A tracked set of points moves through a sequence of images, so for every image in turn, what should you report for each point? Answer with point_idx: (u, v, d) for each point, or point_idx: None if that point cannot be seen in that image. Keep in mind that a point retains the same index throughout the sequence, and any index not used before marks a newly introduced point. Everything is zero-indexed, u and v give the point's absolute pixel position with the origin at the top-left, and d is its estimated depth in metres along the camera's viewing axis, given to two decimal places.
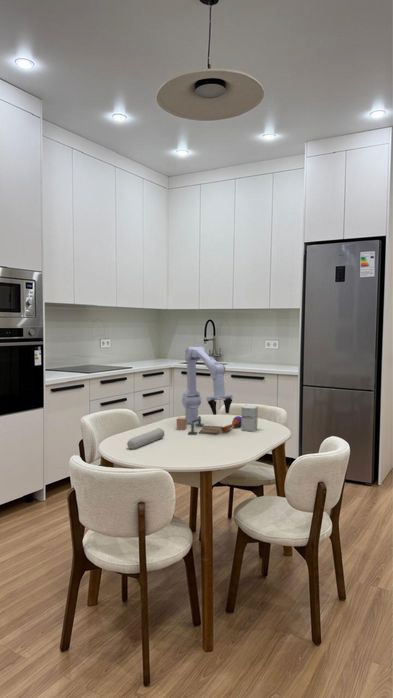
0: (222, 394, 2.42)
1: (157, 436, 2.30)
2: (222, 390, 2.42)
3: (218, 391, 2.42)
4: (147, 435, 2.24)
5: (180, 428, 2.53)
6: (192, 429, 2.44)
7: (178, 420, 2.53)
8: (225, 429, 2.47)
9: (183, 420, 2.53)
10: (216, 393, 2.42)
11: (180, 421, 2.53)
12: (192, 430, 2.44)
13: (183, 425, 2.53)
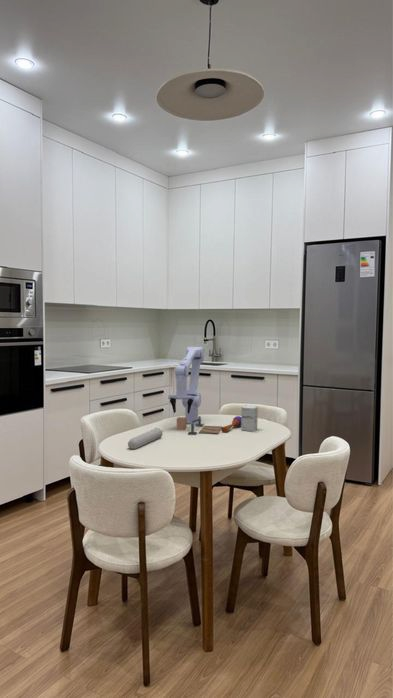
0: (180, 395, 2.52)
1: (156, 436, 2.30)
2: (181, 391, 2.52)
3: (177, 391, 2.52)
4: (146, 435, 2.24)
5: (180, 428, 2.53)
6: (192, 429, 2.44)
7: (178, 420, 2.53)
8: (225, 429, 2.47)
9: (183, 420, 2.53)
10: (176, 393, 2.54)
11: (180, 421, 2.53)
12: (192, 430, 2.44)
13: (183, 425, 2.53)
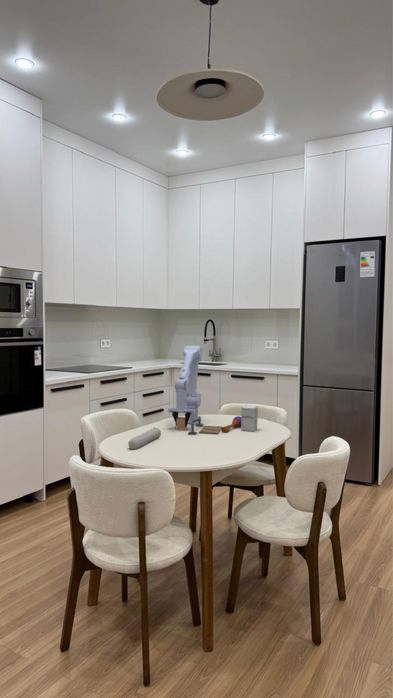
0: (180, 408, 2.52)
1: (155, 436, 2.31)
2: (181, 405, 2.52)
3: (177, 405, 2.53)
4: (146, 435, 2.25)
5: (180, 428, 2.53)
6: (192, 429, 2.44)
7: (178, 420, 2.53)
8: (225, 429, 2.47)
9: (183, 420, 2.53)
10: (176, 406, 2.54)
11: (180, 421, 2.53)
12: (192, 430, 2.44)
13: (183, 425, 2.53)
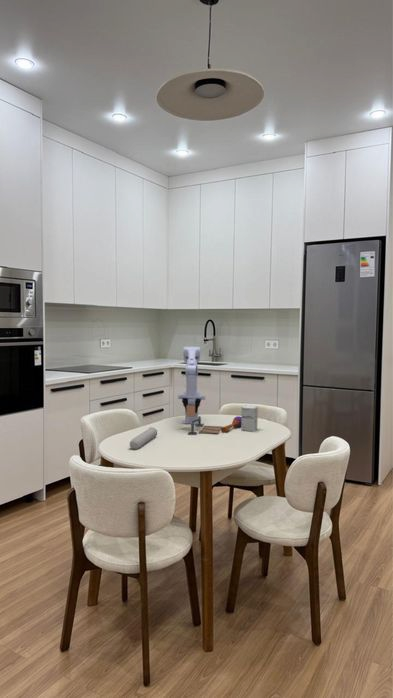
0: (190, 395, 2.51)
1: (152, 435, 2.31)
2: (191, 391, 2.50)
3: (187, 391, 2.51)
4: (145, 435, 2.25)
5: (190, 415, 2.52)
6: (192, 429, 2.44)
7: (188, 407, 2.52)
8: (225, 429, 2.47)
9: (193, 407, 2.51)
10: (186, 393, 2.53)
11: (190, 408, 2.52)
12: (192, 430, 2.44)
13: (193, 412, 2.51)
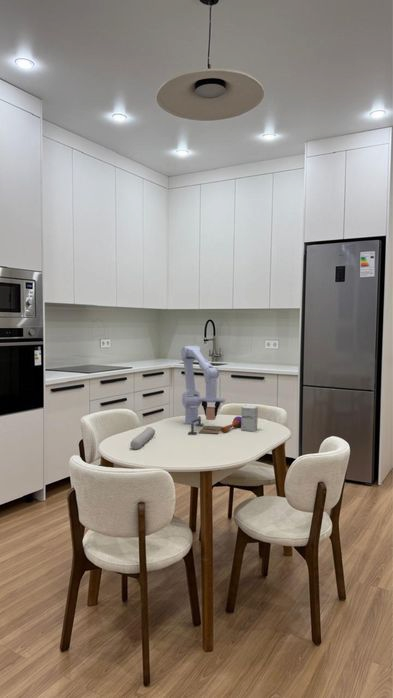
0: (210, 398, 2.49)
1: (151, 435, 2.32)
2: (210, 394, 2.49)
3: (207, 394, 2.49)
4: (144, 434, 2.25)
5: (210, 418, 2.50)
6: (192, 429, 2.44)
7: (208, 410, 2.50)
8: (224, 429, 2.47)
9: (213, 410, 2.49)
10: (206, 396, 2.51)
11: (210, 411, 2.50)
12: (192, 430, 2.44)
13: (213, 415, 2.49)
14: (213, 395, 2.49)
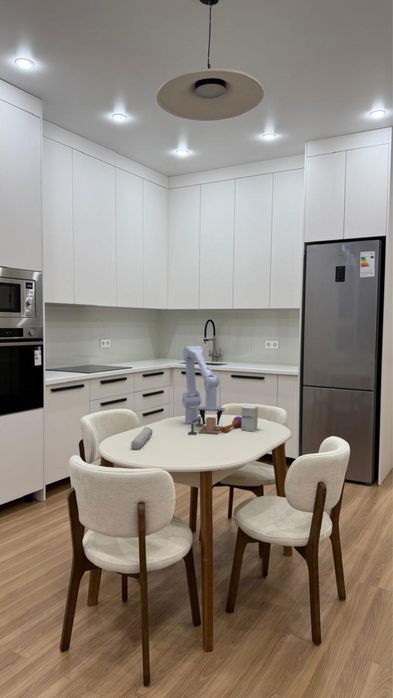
0: (210, 406, 2.49)
1: (149, 435, 2.32)
2: (210, 403, 2.49)
3: (207, 403, 2.50)
4: (144, 434, 2.25)
5: (209, 428, 2.50)
6: (192, 429, 2.44)
7: (207, 420, 2.50)
8: (224, 429, 2.47)
9: (213, 420, 2.50)
10: (206, 404, 2.51)
11: (209, 421, 2.50)
12: (192, 430, 2.44)
13: (213, 426, 2.50)
14: (213, 404, 2.49)
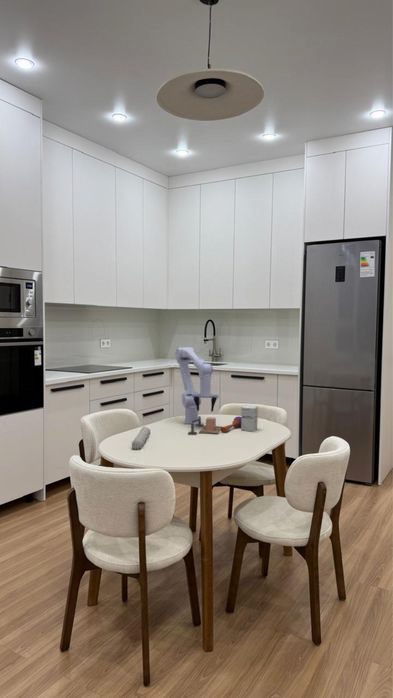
0: (204, 393, 2.54)
1: (148, 435, 2.32)
2: (204, 389, 2.54)
3: (201, 390, 2.55)
4: (143, 434, 2.25)
5: (209, 428, 2.50)
6: (192, 429, 2.44)
7: (207, 420, 2.50)
8: (224, 429, 2.47)
9: (213, 420, 2.50)
10: (200, 391, 2.56)
11: (209, 421, 2.50)
12: (192, 430, 2.44)
13: (213, 426, 2.50)
14: (207, 391, 2.54)
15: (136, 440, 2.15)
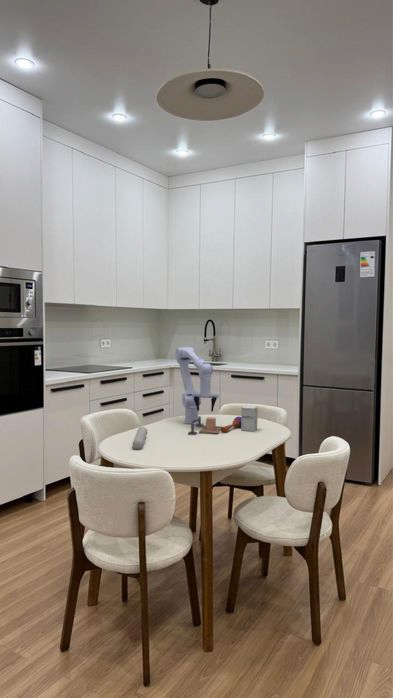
0: (204, 393, 2.54)
1: None
2: (204, 389, 2.54)
3: (201, 390, 2.55)
4: (142, 434, 2.26)
5: (209, 428, 2.50)
6: (192, 429, 2.44)
7: (207, 420, 2.50)
8: (224, 429, 2.47)
9: (213, 420, 2.50)
10: (200, 391, 2.56)
11: (209, 421, 2.50)
12: (192, 430, 2.44)
13: (213, 426, 2.50)
14: (207, 390, 2.54)
15: (137, 440, 2.15)
